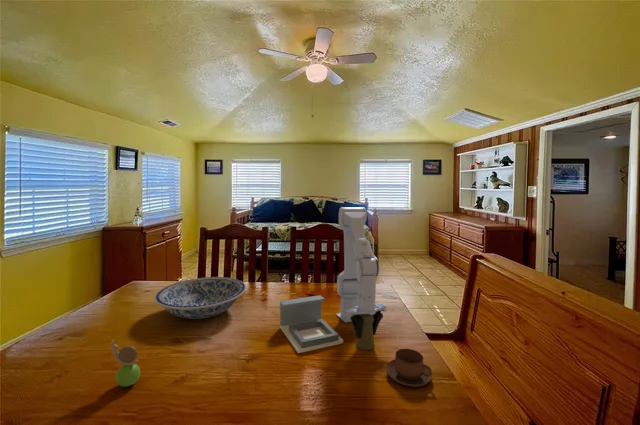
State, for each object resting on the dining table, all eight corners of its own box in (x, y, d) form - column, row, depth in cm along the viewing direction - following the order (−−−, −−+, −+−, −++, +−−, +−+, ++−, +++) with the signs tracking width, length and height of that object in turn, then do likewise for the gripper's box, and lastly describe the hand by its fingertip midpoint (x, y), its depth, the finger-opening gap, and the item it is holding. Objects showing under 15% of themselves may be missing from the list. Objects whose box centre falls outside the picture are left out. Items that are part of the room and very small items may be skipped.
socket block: (319, 320, 120) (320, 295, 119) (343, 343, 103) (343, 313, 102) (280, 327, 113) (280, 301, 113) (297, 353, 96) (298, 322, 95)
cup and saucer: (431, 369, 89) (432, 348, 88) (431, 396, 77) (432, 372, 77) (388, 361, 93) (389, 341, 92) (383, 385, 81) (384, 363, 81)
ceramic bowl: (134, 322, 117) (133, 296, 116) (200, 293, 148) (200, 273, 147) (205, 340, 104) (205, 311, 103) (262, 304, 135) (262, 282, 135)
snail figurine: (119, 378, 82) (117, 335, 82) (144, 377, 83) (143, 334, 82) (107, 392, 77) (105, 345, 76) (134, 391, 78) (132, 345, 77)
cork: (374, 351, 98) (375, 317, 97) (355, 348, 99) (355, 315, 98) (374, 341, 104) (375, 309, 103) (356, 339, 105) (357, 308, 104)
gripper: (353, 302, 94) (352, 345, 95) (392, 295, 99) (391, 336, 101) (342, 294, 100) (341, 335, 101) (379, 289, 106) (378, 327, 107)
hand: (365, 335), depth 101 cm, fingers closed on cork, 5 cm apart
